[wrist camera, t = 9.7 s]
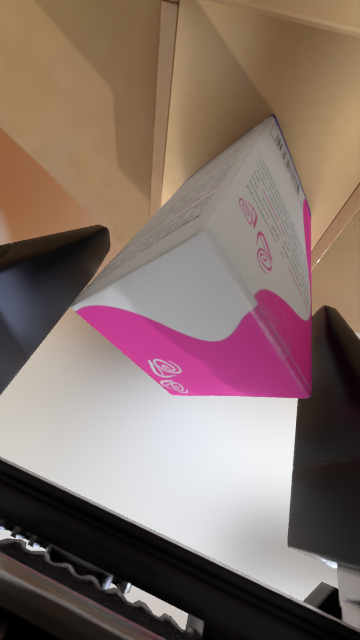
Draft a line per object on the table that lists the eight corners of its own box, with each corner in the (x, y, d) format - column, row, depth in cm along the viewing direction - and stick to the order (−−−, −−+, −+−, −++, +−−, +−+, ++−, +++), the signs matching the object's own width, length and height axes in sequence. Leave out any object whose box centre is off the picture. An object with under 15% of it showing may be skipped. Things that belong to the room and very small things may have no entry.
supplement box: (180, 183, 14) (58, 305, 7) (275, 109, 11) (219, 208, 3) (225, 258, 17) (169, 401, 10) (314, 219, 13) (328, 404, 6)
